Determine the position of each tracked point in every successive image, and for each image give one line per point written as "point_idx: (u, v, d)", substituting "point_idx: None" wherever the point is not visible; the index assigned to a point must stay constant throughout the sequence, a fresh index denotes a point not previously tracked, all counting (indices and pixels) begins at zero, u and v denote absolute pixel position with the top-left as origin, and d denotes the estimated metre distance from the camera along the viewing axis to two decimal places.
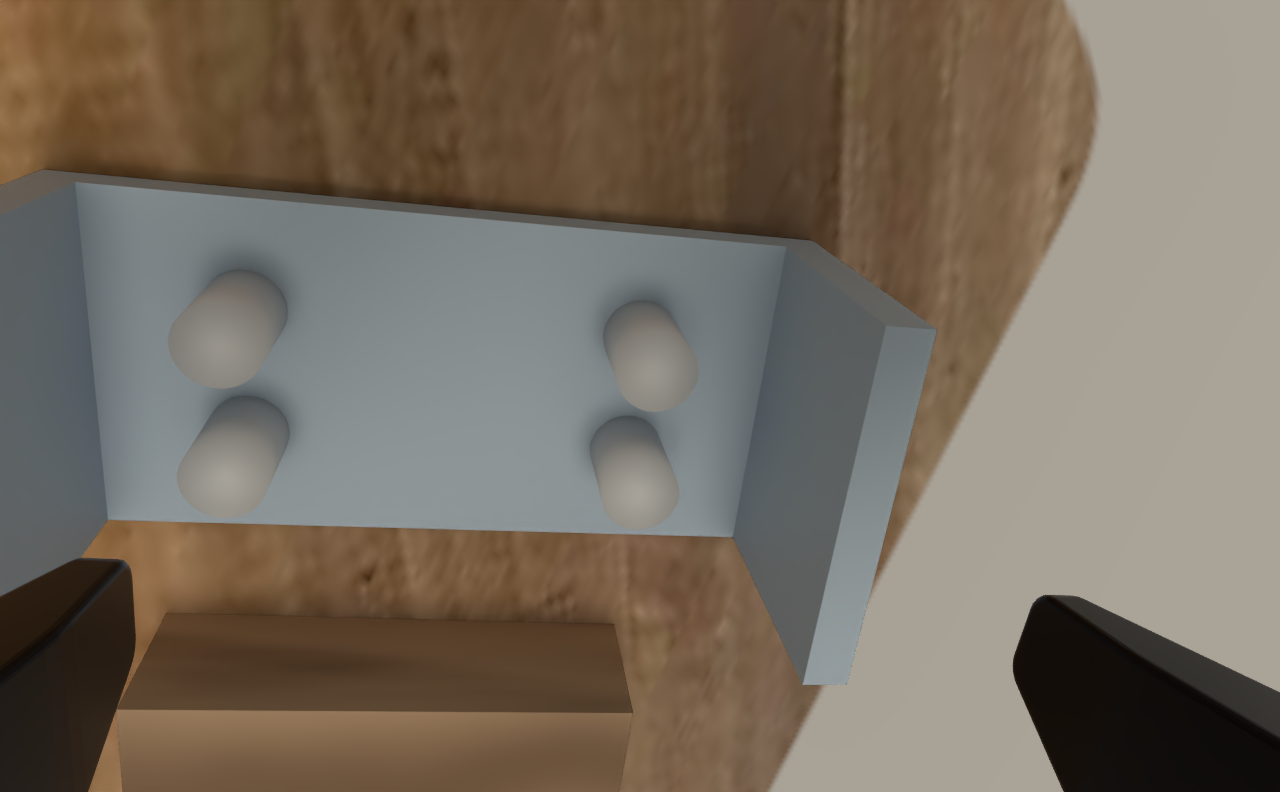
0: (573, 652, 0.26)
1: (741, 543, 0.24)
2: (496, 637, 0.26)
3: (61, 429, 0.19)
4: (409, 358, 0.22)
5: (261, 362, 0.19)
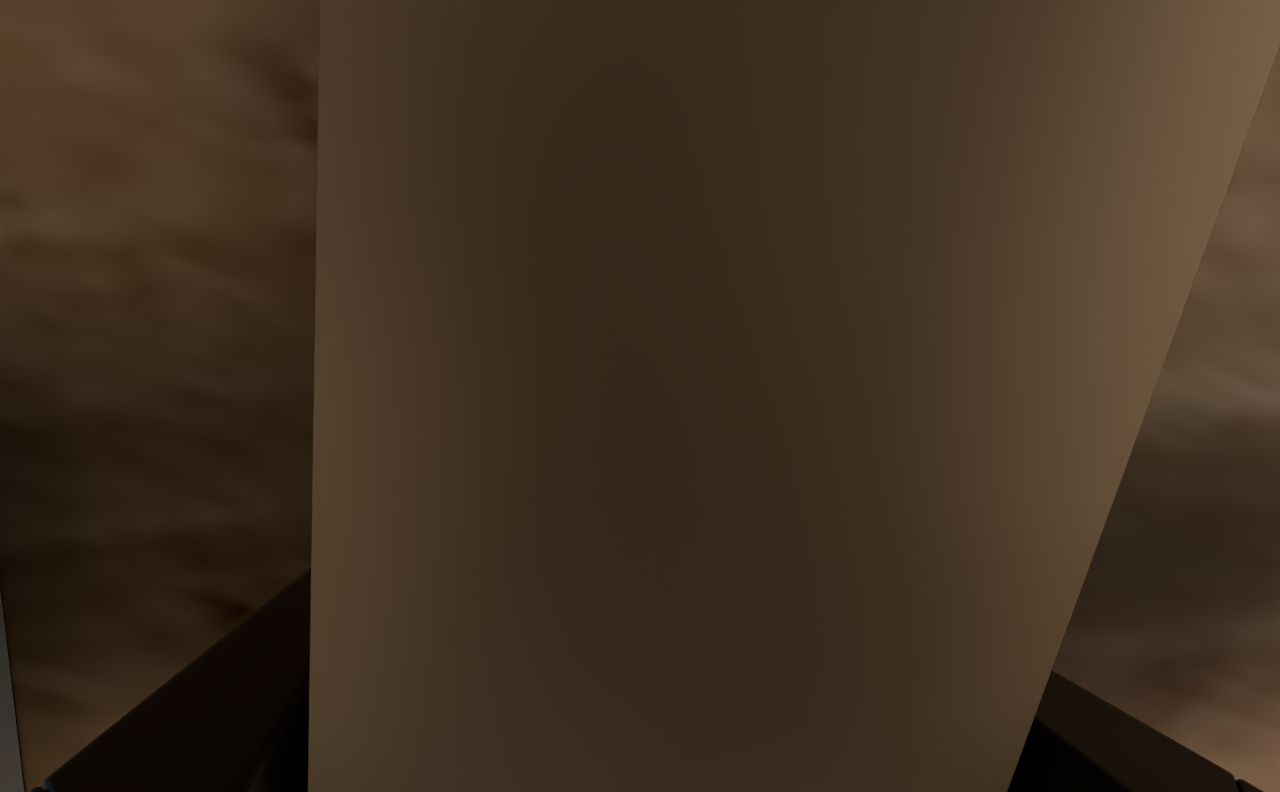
0: None
1: None
2: None
3: None
4: None
5: None
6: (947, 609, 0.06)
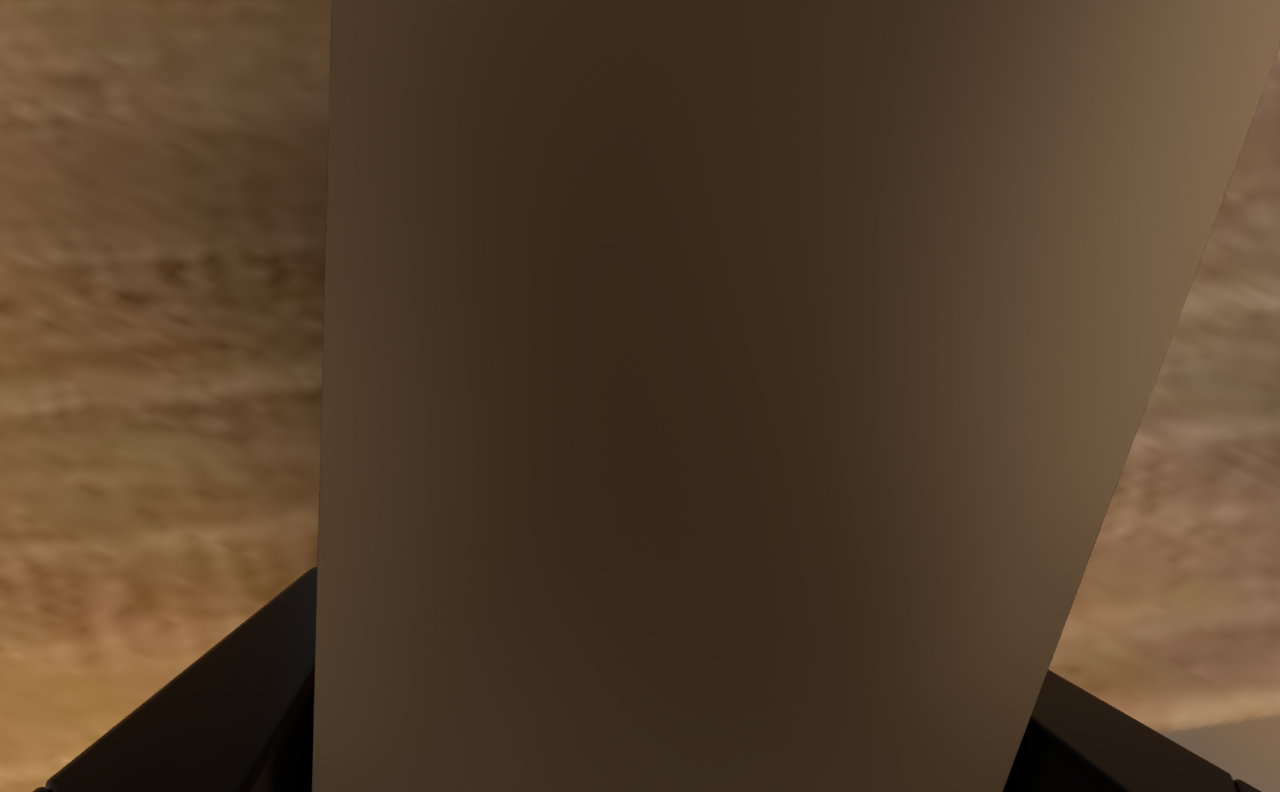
0: None
1: None
2: None
3: None
4: None
5: None
6: (946, 605, 0.06)
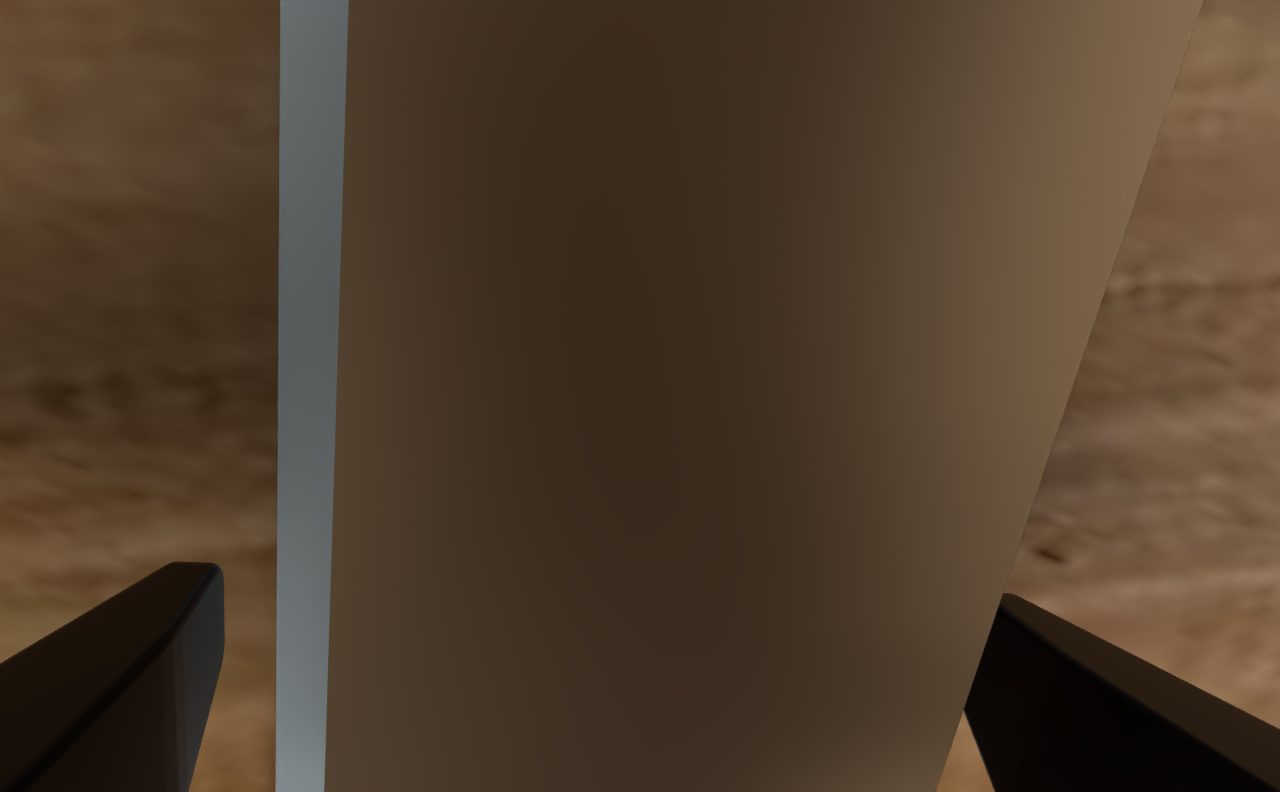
0: None
1: None
2: None
3: None
4: None
5: None
6: (902, 549, 0.07)
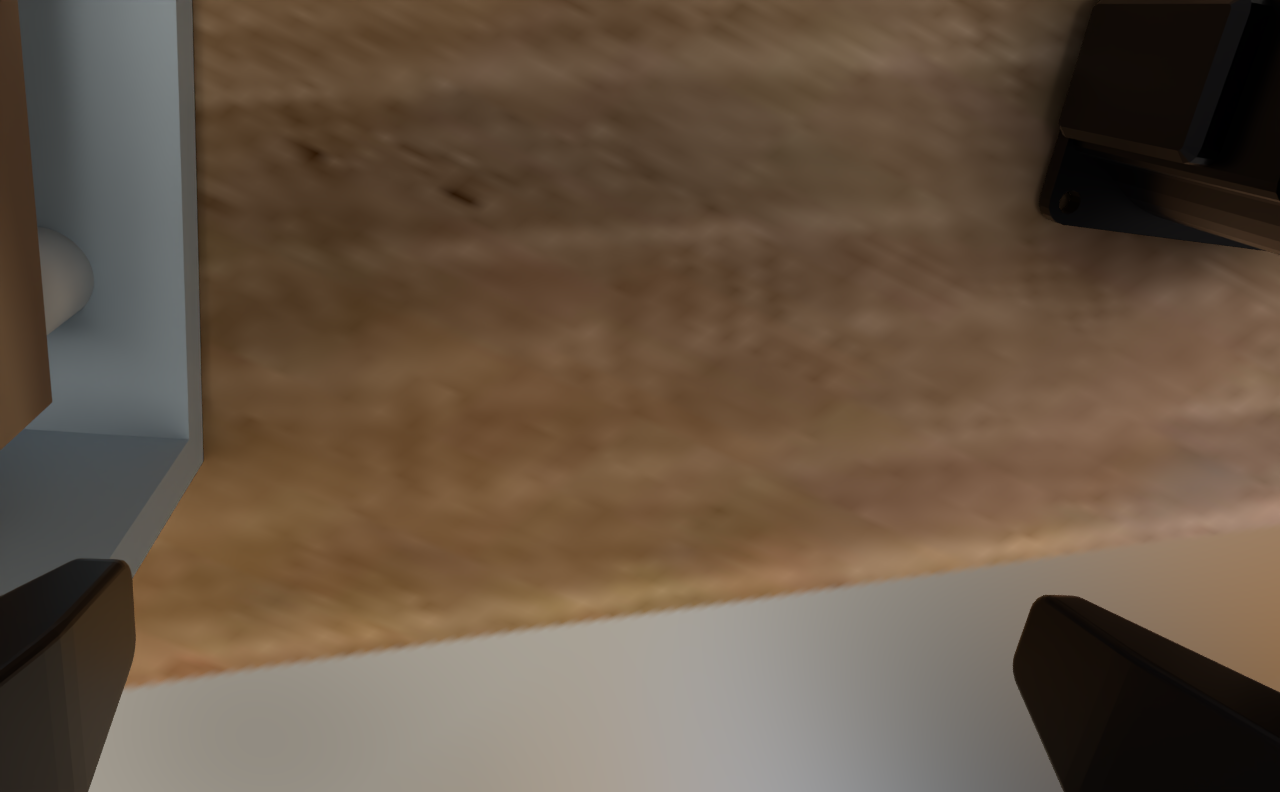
0: None
1: None
2: None
3: None
4: None
5: None
6: None
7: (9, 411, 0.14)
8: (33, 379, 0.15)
